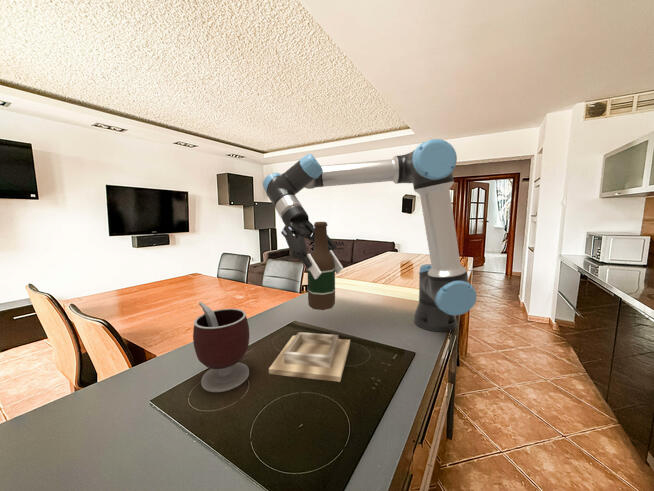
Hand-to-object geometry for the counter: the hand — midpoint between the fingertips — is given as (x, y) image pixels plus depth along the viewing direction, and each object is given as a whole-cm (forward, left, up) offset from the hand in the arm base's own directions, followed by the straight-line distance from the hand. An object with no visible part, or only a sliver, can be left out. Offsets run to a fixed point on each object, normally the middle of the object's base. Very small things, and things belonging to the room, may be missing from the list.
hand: (329, 273), depth 73 cm
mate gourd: (+28, +10, -28) cm, 41 cm away
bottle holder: (+6, -3, -27) cm, 28 cm away
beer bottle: (+3, -2, -10) cm, 11 cm away
